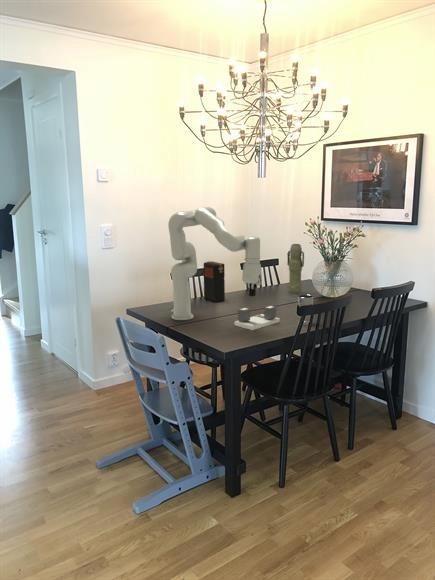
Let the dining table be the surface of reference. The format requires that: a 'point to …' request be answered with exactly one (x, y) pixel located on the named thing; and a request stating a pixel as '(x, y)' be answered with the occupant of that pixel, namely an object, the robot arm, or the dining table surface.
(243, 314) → the grey rounded block
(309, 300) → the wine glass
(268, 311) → the handle
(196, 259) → the robot arm
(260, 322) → the white rectangular tray
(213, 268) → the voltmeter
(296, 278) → the olive green tall statue
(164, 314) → the dining table surface
